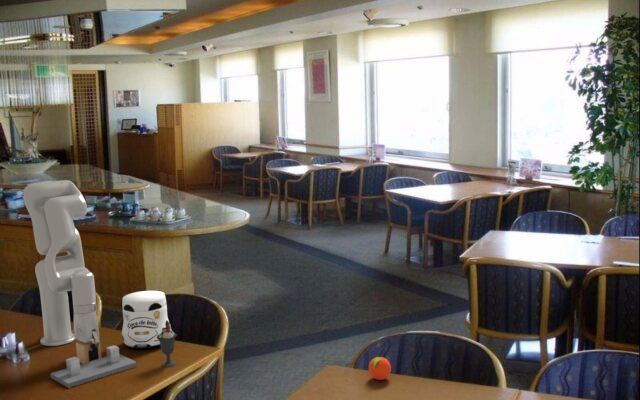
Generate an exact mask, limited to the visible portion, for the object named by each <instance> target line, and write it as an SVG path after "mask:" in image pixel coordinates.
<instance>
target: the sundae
mask: <svg viewBox="0 0 640 400" xmlns="http://www.w3.org/2000/svg"><path fill="white" fill-rule="evenodd" d="M169 324H170V326H167V327H165V328H162V333H161V334H159V335H157V339H159V341H160V345H159V346H160V350H161V353H163V354H164V355H165V356H166V361H165V362H162V364H161V367H163V368H173V367H175V366H177V362H176V361H172V360H171V354H172V353H174V351H175V345H176V343H175V342H176V337H177V336H178V334H177V333H175V332H174V331H173V330H172V327H171V323H170V322H169ZM169 324H168V325H169ZM170 327H171V328H170Z"/></svg>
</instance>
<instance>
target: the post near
mask: <svg viewBox="0 0 640 400" xmlns="http://www.w3.org/2000/svg"><path fill="white" fill-rule="evenodd" d="M65 361H66V362H65V363H66V369H67V374H68V375H70V376H74V375H78V374H81V373H80V364H81V362H79V358H77V356H73V357H69V358H66V359H65Z"/></svg>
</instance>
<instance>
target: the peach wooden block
mask: <svg viewBox="0 0 640 400" xmlns="http://www.w3.org/2000/svg"><path fill="white" fill-rule="evenodd" d="M93 340H94V339H91V341H93ZM92 344H94V342H93V343H91V346H92ZM75 348H76V349H75V350H76V357H77V358H79V362H80V364H83V363H87V362H90V361H89V352H88V351H89V346H88V343H84V342H82V341H75ZM98 356H99V359H100V358H103V357H102V348H101V342H100V343H99V346H98Z"/></svg>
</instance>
